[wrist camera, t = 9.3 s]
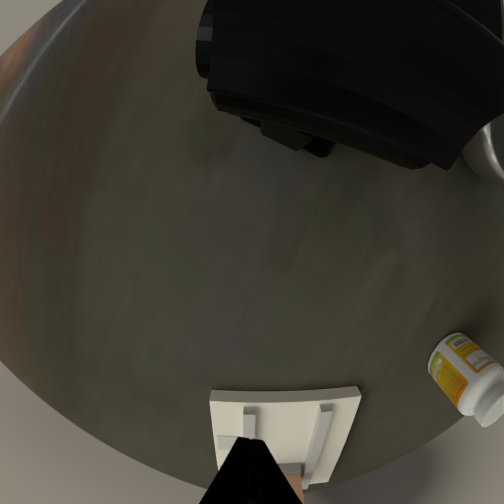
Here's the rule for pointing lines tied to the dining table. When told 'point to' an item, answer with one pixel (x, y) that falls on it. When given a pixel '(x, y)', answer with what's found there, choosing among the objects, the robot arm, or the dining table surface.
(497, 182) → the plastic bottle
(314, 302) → the dining table surface
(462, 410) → the supplement bottle
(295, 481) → the slide tab
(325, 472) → the switch board
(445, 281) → the dining table surface
